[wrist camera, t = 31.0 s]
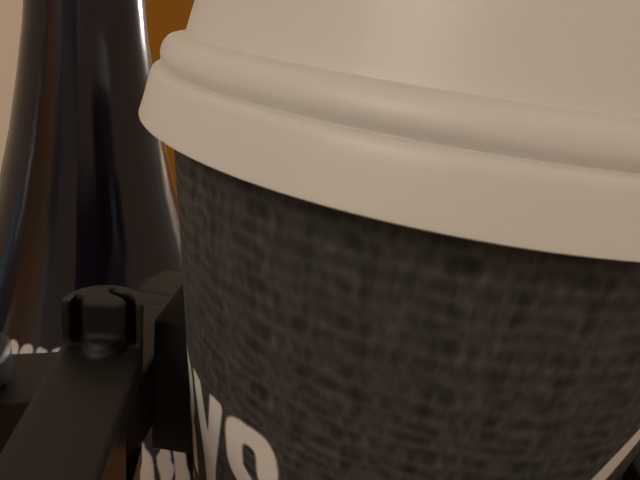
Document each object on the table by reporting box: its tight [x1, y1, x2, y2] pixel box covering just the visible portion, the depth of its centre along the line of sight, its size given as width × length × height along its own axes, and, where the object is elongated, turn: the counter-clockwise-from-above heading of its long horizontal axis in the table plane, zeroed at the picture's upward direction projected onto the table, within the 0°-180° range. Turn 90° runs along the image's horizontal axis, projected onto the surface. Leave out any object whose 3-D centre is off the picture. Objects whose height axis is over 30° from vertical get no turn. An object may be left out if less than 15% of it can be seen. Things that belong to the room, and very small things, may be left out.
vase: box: [0, 0, 194, 480], centre depth 26 cm, size 16×16×30 cm
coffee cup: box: [139, 0, 640, 480], centre depth 11 cm, size 10×10×15 cm
